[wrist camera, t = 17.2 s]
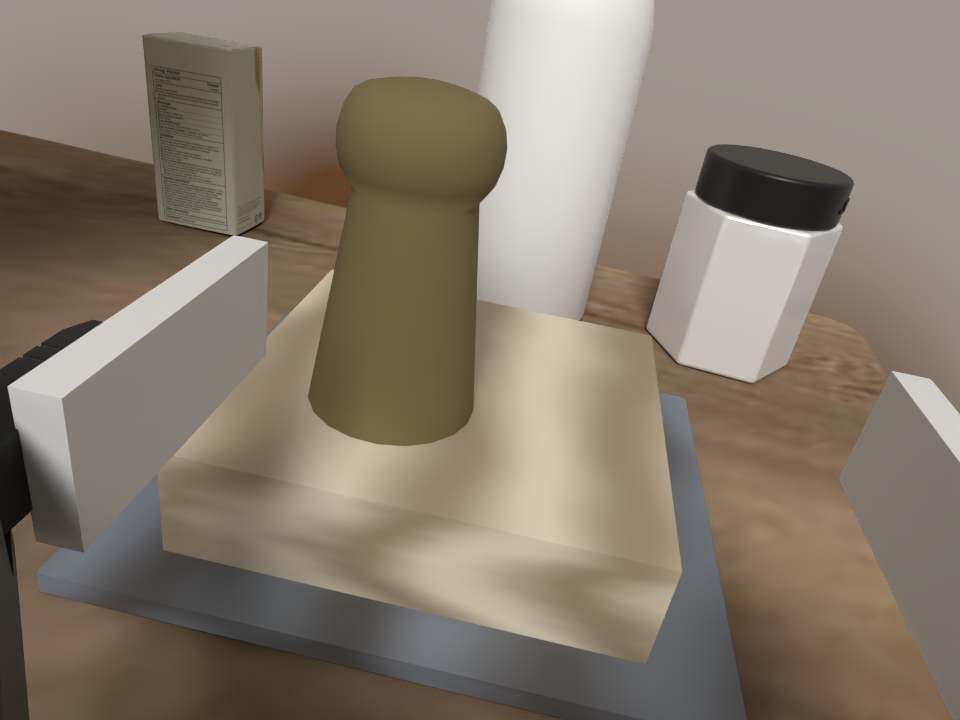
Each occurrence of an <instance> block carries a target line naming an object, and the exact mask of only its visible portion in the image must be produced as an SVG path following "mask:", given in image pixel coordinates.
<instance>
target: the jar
mask: <svg viewBox="0 0 960 720" xmlns="http://www.w3.org/2000/svg"><path fill="white" fill-rule="evenodd" d="M853 185H854V182H853V180H852V179H851V178H850V177H849V176H848V175H846V174H845V173H843V172H841V171H839V170H836V169H834V168H832V167H829V166H826V165H824V164H821V163H818V162H815V161H812V160H808V159H805V158H801V157H797V156H794V155H790V154H786V153H781V152H777V151H772V150H767V149H761V148H755V147H749V146H740V145H725V144H724V145H715V146H711V147H710V148H708V150H707V152H706V156H705V159H704V162H703V166H702V169H701V172H700V175H699V179H698V182H697V185H696V189H695V190H690V191H688V192H687V193H686V196H685V199H684V202H683V206H682V209H681V213H680V216H679V219H678V223H677V226H676V229H675V233H674V236H673V240H672V243H671V246H670V250H669V253H668V256H667V260H666V263H665V266H664V270H663V273H662V276H661V280H660V283H659V286H658V290H657V293H656V297H655V300H654V303H653V307H652V310H651V313H650V317H649V320H648V323H647V327H646V328H647V331H648V332H649V333H650V334H651V335H652V336H653V337H654V338H655V339H656V340H657V341H658V343H659V344H660V345H661V346H662V347H663V348H664V349H665V350H666V351H667V352H668V353H669V355H670V356H671V357H672V358H673V359H674V360H675V361H676V362H677V363H678V364H680V365H684V366H687V367H691V368H695V369H699V370H702V371H706V372H710V373H713V374H717V375H721V376H725V377H728V378H732V379H736V380H740V381H743V382H747V383H754V382H756V381H758V380H760V379H762V378H763V377H765V376H767V375H769V374H771V373H772V372H774V371H776V370H778V369H780V368H782V367H784V366H785V365H786V364H787V362H788V360H789V357H790V355H791V353H792V350H793V348H794V345H795V343H796V341H797V338H798V336H799V333H800V331H801V328H802V326H803V324H804V321H805V319H806V316H807V314H808V311H809V309H810V306H811V304H812V302H813V299H814V297H815V295H816V292H817V290H818V287H819V285H820V282H821V280H822V278H823V275H824V272H825V270H826V268H827V265H828V263H829V261H830V258H831V256H832V253H833V251H834V249H835V246H836V244H837V241H838V239H839V236H840V234H841V231H842V229H843V227H842V225H841V224H839V223H838V222H839V220H840V217H841V215H842V214H843V212H844V211H845V209H846V206H847V204H848V202H849V199H850V198H849V195H850V193H851V190H852V188H853Z"/></svg>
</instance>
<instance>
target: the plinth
mask: <svg viewBox="0 0 960 720" xmlns="http://www.w3.org/2000/svg"><path fill="white" fill-rule="evenodd" d="M333 274H334V270H331V271H330V272H329V273H328V274H327V275H326V276H325V277H324V278H323V279H322V281H321V282H320V283H319V284H318V285H317V286H316V287H315V288H314V289H313V290H312V291H311V292H310V293H309V294H308V295H307V296H306V297H305V298H304V299H303V300H302V301H301V302H300V303H299V304H298V305H297V306H296V307H295V308H294V310H293V311H292V312H291V313H290V314H288V313H287V314H286V315H285V317H284V318H283V319H282V320H281V321H280V322H279V323H278V324H277V325H276V326H275V327H274V328H273V329H272V330H271V331H270V332H269V333H268V334H267V339H266V356H265V357H264V358H263V359H262V360H261V361H260V362H259V363H258V364H257V365H256V367H255V368H254V369H253V370H252V371H251V372H250V373H249V374H248V375H247V376H246V377H245V378H244V380H243V381H242V382H241V383H240V384H239V385H238V386H237V387H236V388H235V389H234V390H233V392H232V393H231V394H230V395H229V396H228V397H227V398H226V399H225V400H224V401H223V402H222V403H221V405H220V406H219V407H218V408H217V409H216V410H215V411H214V412H213V413H212V414H211V415H210V416H209V418H208V419H207V420H206V421H205V422H204V423H203V424H202V425H201V426H200V427H199V428H198V430H197V431H196V432H195V433H194V434H193V435H192V436H191V437H190V438H189V439H188V440H187V441H186V443H185V444H184V445H183V446H182V447H181V448H180V449H179V450H178V451H177V452H176V453H175V455H174V456H173V457H172V458H171V459H170V460H169V461H168V462H167V463H166V464H165V465H164V466H163V468H162V469H161V470H160V471H159V472H158V473H157V474H156V475H155V476H154V477H153V478H152V479H151V481H150V482H149V483H148V484H147V485H146V486H145V487H144V488H143V489H142V490H141V491H140V493H139V494H138V495H137V496H136V497H135V498H134V499H133V500H132V501H131V502H130V503H129V504H128V506H127V507H126V508H125V509H124V510H123V511H122V512H121V513H120V514H119V515H118V516H117V517H116V519H115V520H114V521H113V522H112V523H111V524H110V525H109V526H108V527H107V528H106V529H105V531H104V532H103V533H102V534H101V535H100V536H99V537H98V538H97V539H96V540H95V541H94V542H93V544H92V545H91V546H90V547H89V548H88V549H87V550H86V551H85V552H84V553H83V552H78V551H74V550H70V549H66V548H62V547H60V548H59V549H58V550H57V551H56V552H55V553H54V554H53V555H52V556H51V557H50V558H49V559H48V560H47V561H46V562H45V563H44V564H43V565H42V566H41V567H40V568H39V569H38V570H37V571H36V572H35V574H36V580H37V585H38V590H39V592H43V593H47V594H51V595H56V596H60V597H64V598H68V599H72V600H76V601H80V602H84V603H88V604H93V605H97V606H101V607H105V608H109V609H113V610H117V611H121V612H126V613H130V614H134V615H138V616H142V617H146V618H150V619H154V620H158V621H163V622H167V623H171V624H175V625H179V626H183V627H187V628H191V629H195V630H200V631H204V632H208V633H212V634H216V635H220V636H224V637H228V638H232V639H237V640H241V641H245V642H249V643H253V644H257V645H261V646H265V647H269V648H274V649H278V650H282V651H286V652H290V653H294V654H298V655H302V656H306V657H311V658H315V659H319V660H323V661H327V662H331V663H335V664H339V665H344V666H348V667H352V668H356V669H360V670H364V671H368V672H372V673H376V674H381V675H385V676H389V677H393V678H397V679H401V680H405V681H409V682H413V683H418V684H422V685H426V686H430V687H434V688H438V689H442V690H446V691H450V692H455V693H459V694H463V695H467V696H471V697H475V698H479V699H483V700H487V701H492V702H496V703H500V704H504V705H508V706H512V707H516V708H520V709H524V710H529V711H533V712H537V713H541V714H545V715H549V716H553V717H557V718H561V719H566V720H747V716H746V711H745V705H744V700H743V695H742V690H741V685H740V680H739V674H738V669H737V664H736V659H735V654H734V649H733V643H732V638H731V633H730V628H729V623H728V618H727V612H726V607H725V602H724V597H723V592H722V586H721V581H720V576H719V571H718V566H717V561H716V555H715V550H714V545H713V540H712V535H711V530H710V524H709V519H708V514H707V509H706V504H705V498H704V493H703V488H702V483H701V478H700V473H699V467H698V462H697V457H696V452H695V447H694V442H693V436H692V431H691V426H690V421H689V416H688V411H687V405H686V400H685V398H683V397H678V396H674V395H669V394H664V393H660V392H659V391H658V383H657V375H656V368H655V360H654V352H653V345H652V337H651V336H650V335H645V334H640V333H635V332H630V331H625V330H621V329H616V328H611V327H606V326H601V325H597V324H592V323H587V322H582V321H577V320H573V319H568V318H563V317H558V316H553V315H549V314H544V313H539V312H534V311H529V310H525V309H520V308H515V307H510V306H505V305H500V304H496V303H491V302H486V301H481V300H477V305H476V338H475V371H474V404H473V412H472V414H471V417H470V419H469V421H468V424H466V425H465V426H464V427H463V428H462V429H460V430H459V431H458V432H457V433H455V434H454V435H452V436H449V437H447V438H444V439H441V440H439V441H436V442H433V443H427V444H419V445H411V446H396V445H382V444H375V443H371V442H367V441H363V440H359V439H356V438H352V437H349V436H347V435H345V434H343V433H341V432H339V431H337V430H335V429H333V428H331V427H330V426H328V425H327V424H326V423H325V422H324V421H323V420H321V419H320V418H319V417H318V416H317V415H316V414H315V413H314V412H313V409H312V407H311V404H310V402H309V399H308V393H309V388H310V383H311V379H312V374H313V369H314V364H315V359H316V355H317V350H318V345H319V340H320V336H321V331H322V326H323V321H324V317H325V312H326V307H327V302H328V297H329V293H330V288H331V283H332V278H333Z"/></svg>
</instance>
